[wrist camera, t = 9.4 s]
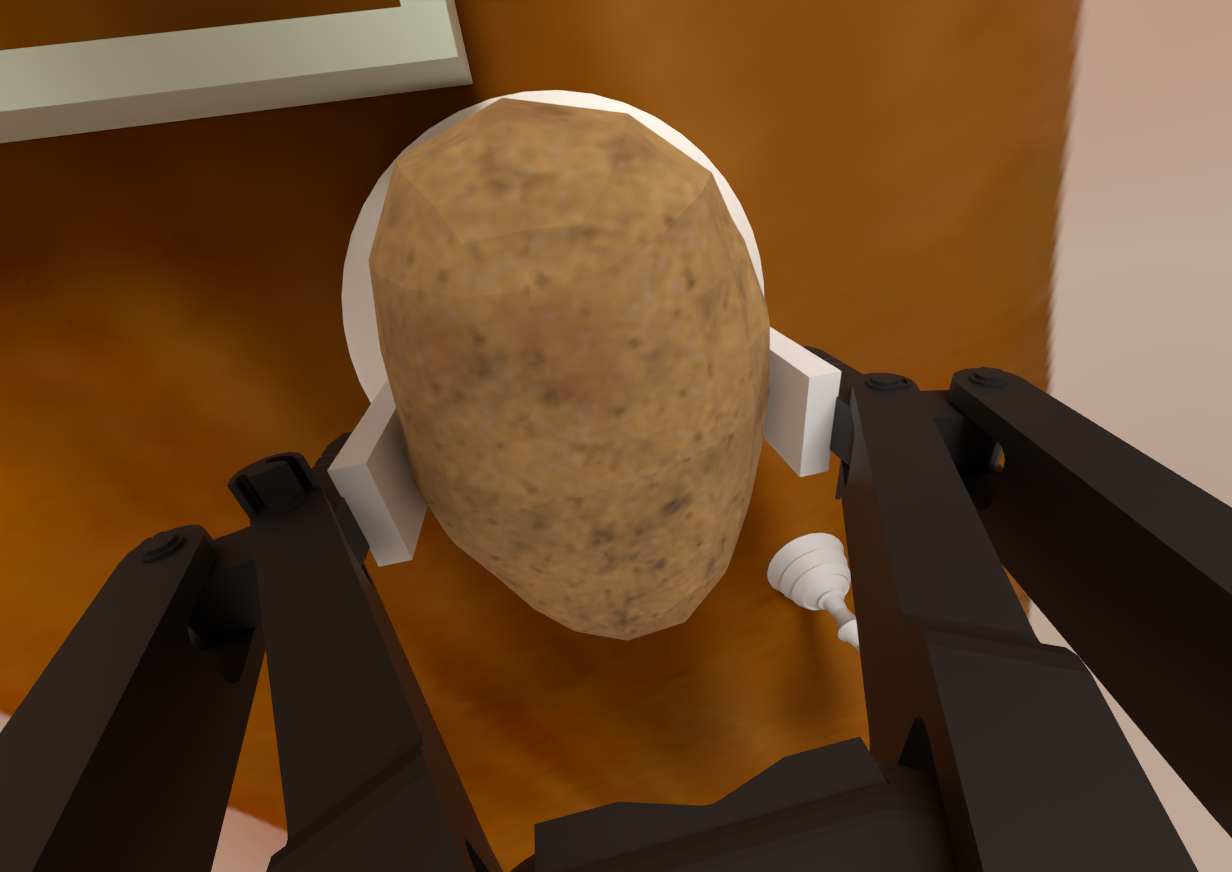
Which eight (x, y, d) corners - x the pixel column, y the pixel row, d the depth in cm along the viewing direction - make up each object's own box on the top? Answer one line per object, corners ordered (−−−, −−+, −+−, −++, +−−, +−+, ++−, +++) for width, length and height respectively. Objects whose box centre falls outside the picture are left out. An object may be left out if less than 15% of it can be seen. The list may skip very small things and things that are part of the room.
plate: (266, 130, 14) (246, 127, 13) (757, 66, 16) (774, 59, 15) (433, 522, 22) (429, 539, 21) (747, 457, 24) (757, 470, 23)
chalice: (875, 558, 30) (1256, 973, 14) (790, 618, 31) (1051, 1051, 16) (823, 499, 26) (1248, 960, 11) (730, 570, 28) (988, 1061, 12)
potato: (507, 544, 20) (499, 746, 13) (336, 167, 12) (102, 161, 5) (728, 483, 20) (835, 646, 13) (688, 83, 13) (881, -19, 6)
